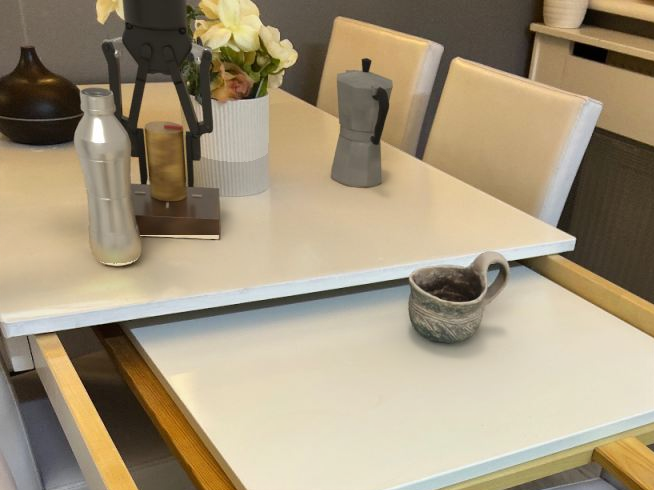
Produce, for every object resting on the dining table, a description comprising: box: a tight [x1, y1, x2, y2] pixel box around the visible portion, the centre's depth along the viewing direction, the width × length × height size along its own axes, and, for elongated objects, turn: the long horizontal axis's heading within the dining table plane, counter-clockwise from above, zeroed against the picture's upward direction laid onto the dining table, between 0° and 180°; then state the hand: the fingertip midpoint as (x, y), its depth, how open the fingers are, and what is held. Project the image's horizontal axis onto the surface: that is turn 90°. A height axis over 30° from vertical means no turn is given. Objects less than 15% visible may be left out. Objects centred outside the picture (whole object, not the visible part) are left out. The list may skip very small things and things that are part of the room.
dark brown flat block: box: [131, 182, 221, 236], centre depth 111 cm, size 14×12×3 cm
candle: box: [144, 120, 187, 201], centre depth 108 cm, size 5×5×9 cm
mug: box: [407, 250, 511, 344], centre depth 94 cm, size 10×12×10 cm
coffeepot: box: [330, 57, 394, 189], centre depth 125 cm, size 15×9×18 cm, turn 24°
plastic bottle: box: [73, 86, 143, 264], centre depth 94 cm, size 6×7×20 cm
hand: (167, 181), depth 110 cm, fingers open, 6 cm apart
